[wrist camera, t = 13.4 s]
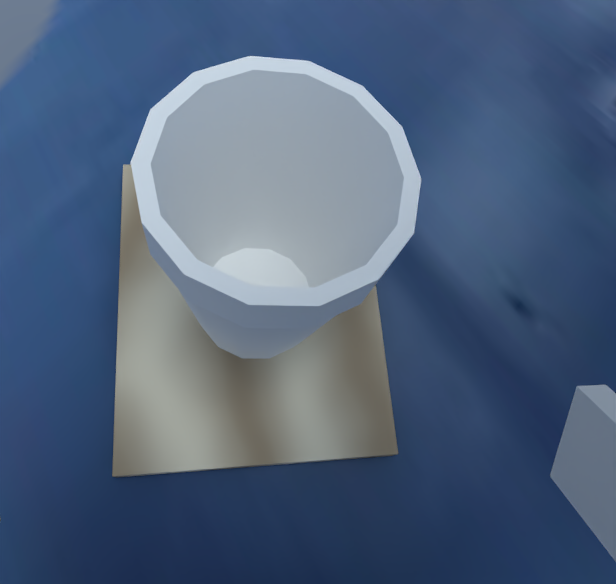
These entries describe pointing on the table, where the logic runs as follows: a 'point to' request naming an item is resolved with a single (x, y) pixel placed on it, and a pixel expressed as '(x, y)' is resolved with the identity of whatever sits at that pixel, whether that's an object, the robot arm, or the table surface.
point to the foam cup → (273, 198)
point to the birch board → (236, 382)
